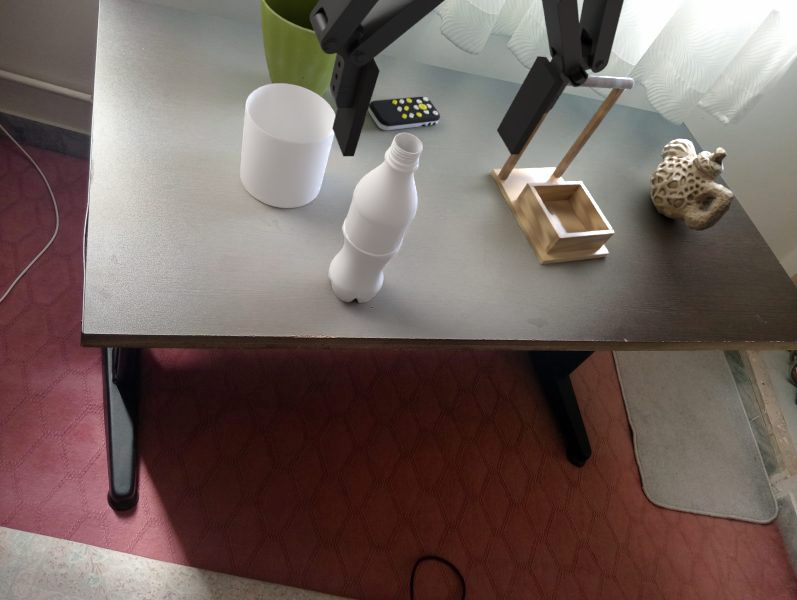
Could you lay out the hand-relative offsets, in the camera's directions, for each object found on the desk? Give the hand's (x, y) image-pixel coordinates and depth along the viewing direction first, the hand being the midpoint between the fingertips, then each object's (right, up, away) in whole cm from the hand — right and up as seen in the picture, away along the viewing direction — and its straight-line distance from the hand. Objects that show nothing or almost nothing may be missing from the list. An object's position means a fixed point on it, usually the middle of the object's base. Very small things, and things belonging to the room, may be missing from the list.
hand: (431, 142), depth 39 cm
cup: (-20, +6, +40) cm, 45 cm away
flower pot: (-19, +23, +51) cm, 60 cm away
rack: (+23, +3, +54) cm, 59 cm away
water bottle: (-9, -10, +33) cm, 36 cm away
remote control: (-2, +21, +57) cm, 60 cm away
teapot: (+49, +6, +65) cm, 81 cm away
